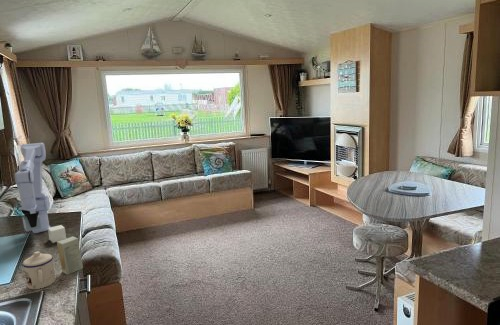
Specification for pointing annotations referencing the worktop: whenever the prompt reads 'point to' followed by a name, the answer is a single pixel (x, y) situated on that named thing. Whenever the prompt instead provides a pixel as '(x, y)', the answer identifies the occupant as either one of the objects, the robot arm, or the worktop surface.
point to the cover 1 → (27, 225)
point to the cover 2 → (57, 233)
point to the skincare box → (70, 255)
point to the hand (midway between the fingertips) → (32, 225)
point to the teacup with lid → (39, 270)
